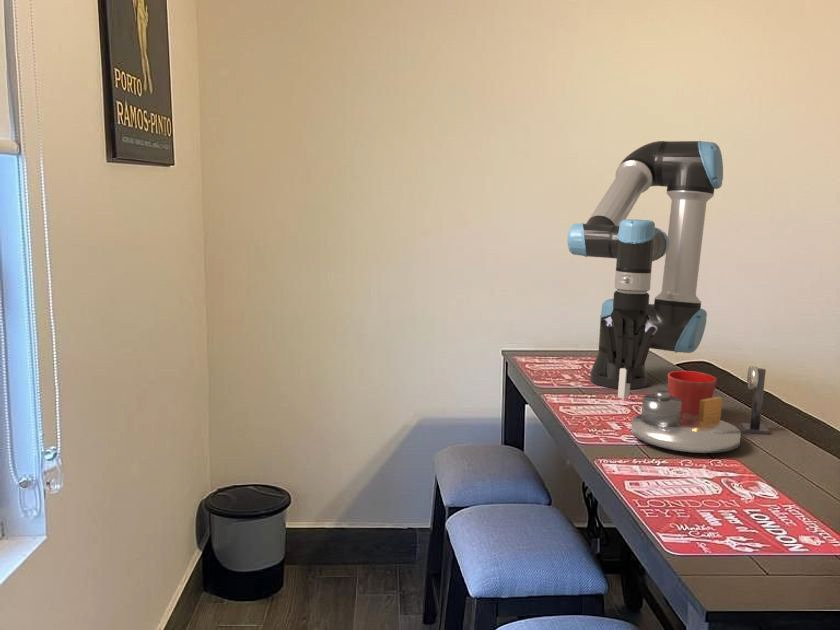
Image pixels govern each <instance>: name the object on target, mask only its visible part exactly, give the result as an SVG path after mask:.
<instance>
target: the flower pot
mask: <svg viewBox="0 0 840 630" xmlns="http://www.w3.org/2000/svg"><path fill="white" fill-rule="evenodd" d="M717 379H718V378H717V377H715V376H714V375H710V374H709V373H704V372H699V371H692V370H674V371H670V372H668V373H667V384H668V385H667V386H668V392H670V396H673V397H676V398H679V399H680V400H681V401H682V404H681V413H690V414H697V415H699V408H700V400H703V399H708V398H713V396H714V393H715V389H716V386H717Z"/></svg>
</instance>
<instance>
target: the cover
mask: <svg viewBox="0 0 840 630" xmlns="http://www.w3.org/2000/svg"><path fill="white" fill-rule="evenodd" d="M681 404H682V401H681V400H680V399H679V398H676V397H673V396H670V392H669V391H666V390H656V391H655V393H653V394H646V395H643V397H642V406H641V414H642V416H641V421H642V422H644V423H646V424H648V425H652V426H657V427H676V426H679V425H680V416H681Z"/></svg>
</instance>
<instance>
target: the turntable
mask: <svg viewBox="0 0 840 630" xmlns="http://www.w3.org/2000/svg"><path fill="white" fill-rule="evenodd" d="M722 405H723V397H720V396H714V397H713V396H712V398H708V399H703V400H700V408H699V415H697V414H690V413H681V416H680V425H679V426H676V427H657V426H652V425H648V424H646V423H644V422H642V421H641V416H642V413H641V414H637V415H636V416H634V417H633V418H632V420H631V429H630V430H631V431H630V432H631V433H632V435H633V436H635V438H637V439H638V440H641V441H642V442H645V443H647V444H650V445H653V446H655V447H659V448H663V449H668V450H672V451H673V450H674V451H680V452H684V453H685V452H686V453H687V452H688V453H698V454H701V453H702V454H706V453H707V454H709V453H711V454H713V453H714V454H715V453H723V452H729V451H732V450H735V449H737V448H738V447H739V446H740V445H741V437H742V436H741V434H742V432H741V430H740V429H739V428H737V426H735V425H733V424H731V423H730V422H727V421H725V420H721V418H722V417H721V416H722Z"/></svg>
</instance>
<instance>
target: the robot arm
mask: <svg viewBox="0 0 840 630" xmlns="http://www.w3.org/2000/svg"><path fill="white" fill-rule="evenodd" d="M723 180H724V163H723V156H722V151H721V149H720V146H719V145H718V144H717V143H716V142H713V141H701V140H699V141H698V140H697V141H696V140H687V141H686V140H685V141H684V140H683V141H681V140H680V141H679V140H677V141H676V140H675V141H674V140H673V141H670V140H668V141H667V140H666V141H665V140H657V141H653V142H650V143H647V144H644V145H642V146H640V147H638V148H637V149H635V150H634V151H632V152H631V153H630V154H628V155H627V156H625V158H624V159H623V160H621V162H620V164H619V165H618V167H617V169H616V170H615V178H614V180H613V181H612V183H611V185H610V186H609V188H608V189H607V191H606V192H605V194H604V196H603V197H602V199H601V200H600V202H599V203H598V205H597V206H596V208H595V209H594V211H593V213H592V214H591V216H590V217H589V219H588V220H587V222H586V223H584V222H581V223H574V224H572V225H571V226H570V227H569V229H568V234H567V247H568V248H567V249H568V251H569V252H570V254H572V255H573V256H575V255H576V256H581V257H585V258H587V257H591V258H605V259H616V262H615V263H616V266H615V277H614V288H615V289H616V290H615V291H614V292H613V298H608V299H606V300H604V301H603V303H602V305H601V312H600V316H599V318H600V320H599V321H600V322H599V323H600V325H599V337H598V338H599V339H598V352H597V355H596V357H595V360H594V362H593V365H592V368H591V370H590V374H589V380H590V382H591V383H593V384H595V385H597V386H602V387H607V388H612V389H618V390H617V398H619V399H626V398H628V397H630V392H631V391H630V389H633V390H634V389H635V390H636V389H641V388H645V387H647V385H648V373H647V369H646V365H645V364H646V361H647V357H648V354H649V352H650V349H653V350H659V351H666V352H674V353H684V354H685V353H687V354H691V353H693V352H695V351H696V350H697V349H698V348H699V346H700V344H701V342H702V339H703V337H704V333H705V330H706V327H707V326H706V325H707V316H708V312H707V311H706V310H705V309H704V308H702V307H701V306H702V301H701V300H700V299H699V297H698V296H697V289H698V288H697V287H698V279H699V272H700V271H699V270H700V263H701V261H700V260H701V253H702V245H703V236H704V235H703V234H704V227H705V218H706V211H707V210H706V209H707V204H708V201H709V200H711V199H712V198H714V195H715V190H718V189H721V187H722V185H723ZM651 187H666V195H668V197H669V198H670V200H671V204H670V215H669V221H668V223H669V224H668V231H667V233H666V232H665V231H664V230H662V229H660V228H658V227H656V225H655V222H654V221H653V220H649V219H628V216H629V214H630V213H631V211H632V209H633V207H634V206H635V204H636V203H637V201H638V200H639V197H640V196H641V195H642V193H645V192H646V191H648V190H649V189H650V188H651ZM664 256H665V257H664ZM662 257H664V266H663V275H662V276H663V277H662V285H661V291H660V292H659V293H658V295H656V296H655V297H654V301H653V303H650V294H649V293H648V291H649V292H650V290H651V280H652V268H653V262H655V261H658V260H660V259H661V258H662Z"/></svg>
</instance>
